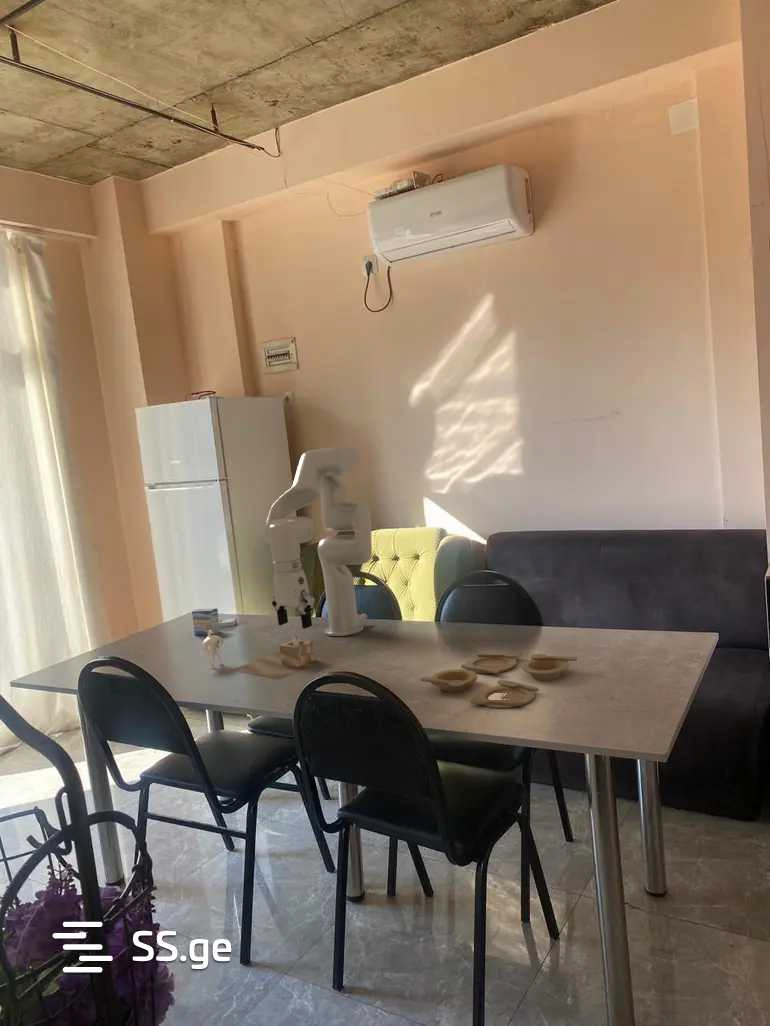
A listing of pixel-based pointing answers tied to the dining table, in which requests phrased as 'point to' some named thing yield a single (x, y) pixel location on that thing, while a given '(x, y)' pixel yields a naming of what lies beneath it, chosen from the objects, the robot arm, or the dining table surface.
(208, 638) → the figurine
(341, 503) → the robot arm
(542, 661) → the tableware set
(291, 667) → the wooden peg base
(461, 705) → the dining table surface
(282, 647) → the wooden cube
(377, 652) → the dining table surface
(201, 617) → the medicine box
